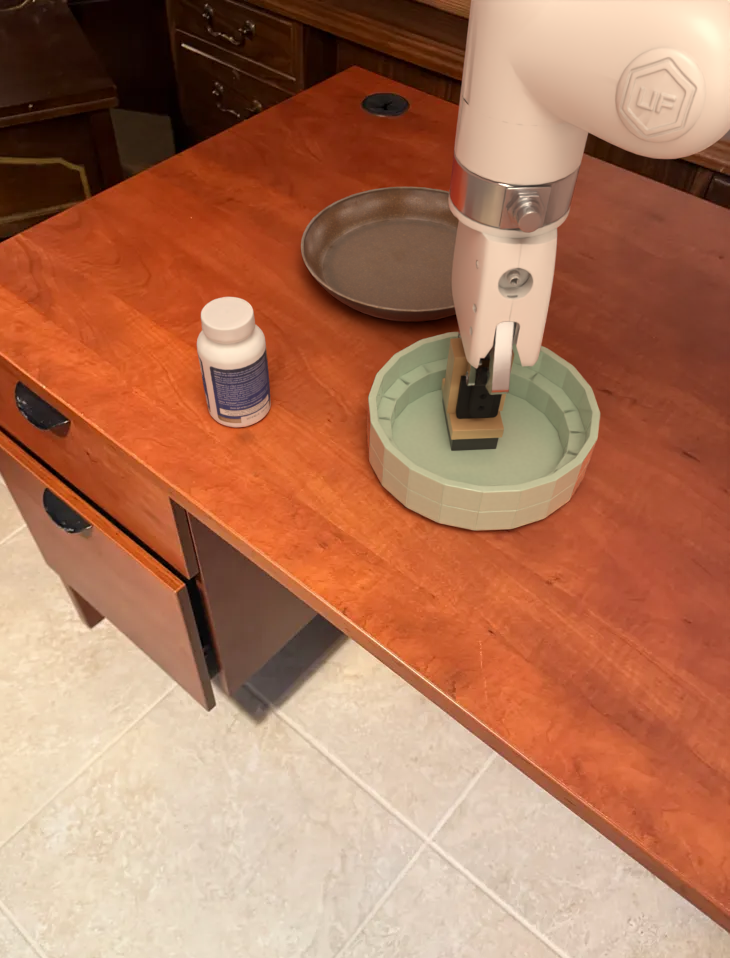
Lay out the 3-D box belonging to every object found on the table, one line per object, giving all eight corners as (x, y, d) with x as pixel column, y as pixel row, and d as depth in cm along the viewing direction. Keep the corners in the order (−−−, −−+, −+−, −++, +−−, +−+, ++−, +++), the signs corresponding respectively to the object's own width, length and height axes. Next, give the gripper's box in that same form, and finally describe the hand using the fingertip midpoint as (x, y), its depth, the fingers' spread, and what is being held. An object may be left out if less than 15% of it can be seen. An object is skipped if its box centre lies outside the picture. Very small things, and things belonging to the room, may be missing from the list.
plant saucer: (333, 200, 88) (333, 171, 86) (527, 227, 85) (533, 197, 82) (275, 319, 77) (272, 289, 74) (497, 357, 73) (503, 327, 70)
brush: (436, 400, 69) (447, 321, 62) (489, 398, 69) (504, 319, 63) (446, 453, 65) (458, 375, 59) (501, 451, 65) (519, 372, 59)
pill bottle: (284, 405, 70) (277, 310, 62) (238, 439, 67) (225, 345, 60) (240, 376, 72) (228, 281, 64) (194, 408, 70) (176, 313, 62)
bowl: (558, 373, 72) (571, 327, 68) (607, 530, 61) (625, 486, 57) (360, 381, 71) (361, 335, 67) (375, 539, 61) (378, 496, 57)
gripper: (605, 257, 46) (540, 477, 60) (546, 115, 55) (502, 335, 70) (470, 262, 46) (438, 481, 60) (434, 119, 55) (414, 338, 70)
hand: (473, 401), depth 65 cm, fingers closed on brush, 2 cm apart
